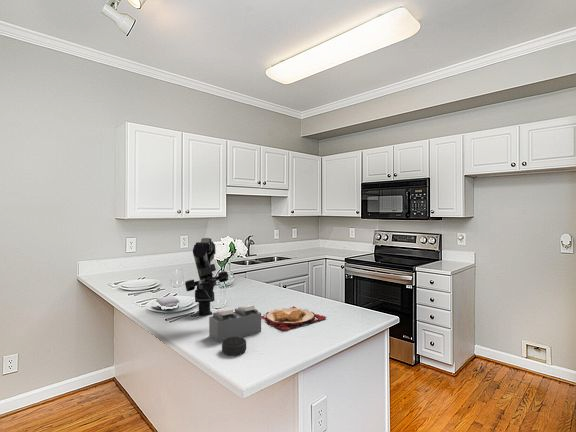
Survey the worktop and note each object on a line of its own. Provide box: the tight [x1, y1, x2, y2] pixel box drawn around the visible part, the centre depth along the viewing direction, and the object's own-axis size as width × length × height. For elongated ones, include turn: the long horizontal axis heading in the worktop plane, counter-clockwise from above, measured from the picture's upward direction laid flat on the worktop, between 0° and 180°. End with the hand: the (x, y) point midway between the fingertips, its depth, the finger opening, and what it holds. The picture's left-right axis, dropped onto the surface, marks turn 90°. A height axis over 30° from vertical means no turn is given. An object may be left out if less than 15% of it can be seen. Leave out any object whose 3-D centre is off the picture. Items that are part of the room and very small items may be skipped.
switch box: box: [208, 308, 262, 343], centre depth 146 cm, size 8×20×9 cm, turn 126°
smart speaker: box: [221, 337, 247, 356], centre depth 129 cm, size 9×9×4 cm
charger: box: [155, 295, 180, 307], centre depth 181 cm, size 5×9×15 cm
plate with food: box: [261, 306, 327, 331], centre depth 166 cm, size 25×26×4 cm
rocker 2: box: [237, 305, 256, 311], centre depth 148 cm, size 6×4×2 cm
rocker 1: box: [215, 308, 234, 316], centre depth 142 cm, size 6×4×2 cm
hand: (211, 298), depth 152 cm, fingers closed
